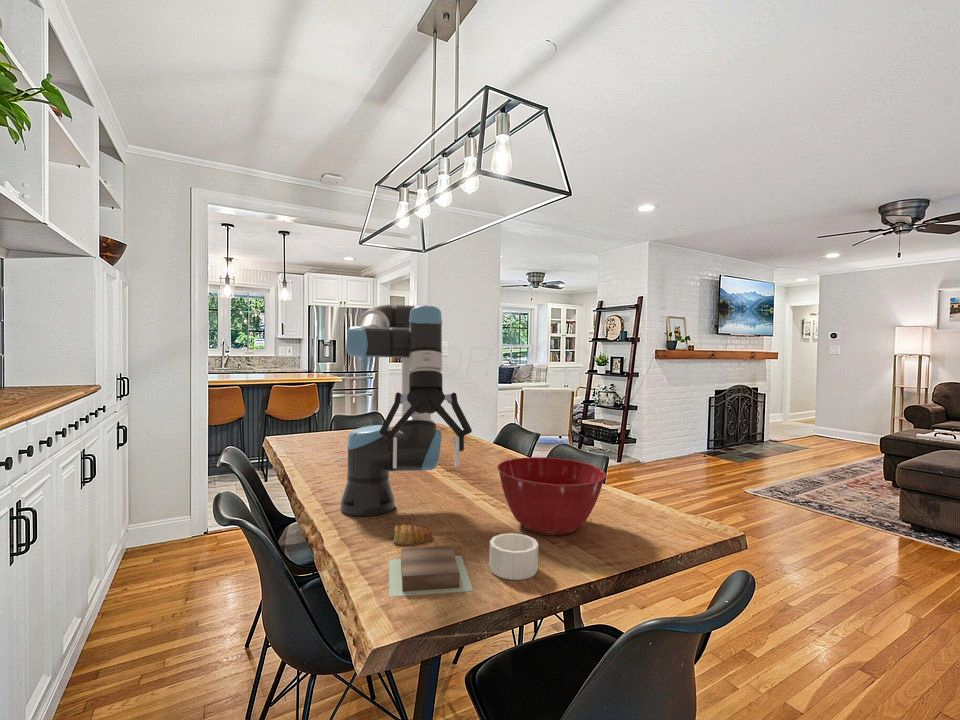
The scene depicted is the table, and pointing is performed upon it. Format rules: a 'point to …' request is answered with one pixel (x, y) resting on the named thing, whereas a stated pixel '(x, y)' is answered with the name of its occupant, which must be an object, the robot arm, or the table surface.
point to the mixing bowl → (550, 492)
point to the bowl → (513, 556)
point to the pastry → (411, 534)
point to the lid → (429, 568)
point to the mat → (396, 590)
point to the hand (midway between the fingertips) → (426, 467)
